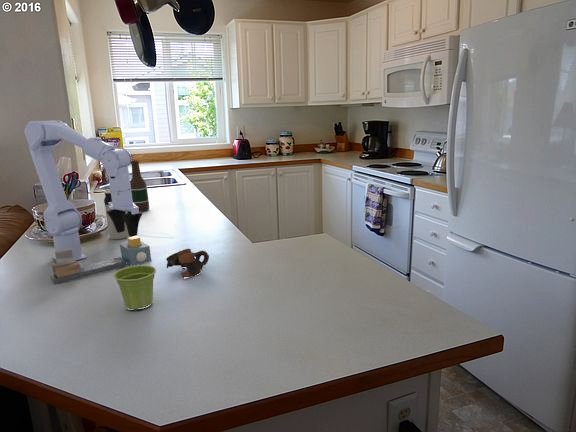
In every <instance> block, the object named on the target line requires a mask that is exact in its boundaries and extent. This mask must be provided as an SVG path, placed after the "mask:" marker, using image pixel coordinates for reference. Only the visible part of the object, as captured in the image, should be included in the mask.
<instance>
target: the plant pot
mask: <svg viewBox="0 0 576 432" xmlns="http://www.w3.org/2000/svg"><path fill="white" fill-rule="evenodd" d="M156 273H157V269H156V267H154V266H151V265H145V264H144V265H143V264H139V265H135V266H128V267H124V268H121V269H119V270H117V271H116V272H115V273H114V274H113V278H114V280H116V282H117V285H118V286H119V289H120V292H121V293H120V294H121V295H122V299H123V303H124V306H125V308H126V307H127V308H129V309H138V308H143V307H146V306H148V305H150V304H151V303H152V302H153V300H154V279H155V274H156ZM152 304H153V303H152Z"/></svg>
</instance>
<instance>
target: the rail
mask: <svg viewBox="0 0 576 432" xmlns="http://www.w3.org/2000/svg"><path fill="white" fill-rule="evenodd" d="M127 264H128V263H127V262H126V260H124V259H123V258H122V256H119V257H115V258H112V259H111V258H110V259H107V260H104V261H103V260H102V261H98V262H94V263H91V264H87V265H84V266H83V265H82V266H80V268H81V272H79V273H75V274H71V275H67V276H63V277H60V278H58V277H57V276H56V275H55V274H54V273H50V274H49V277H50V281H51V282H52V283H53V284H54V285H57V284H58V285H59V284H61V283H65V282H70V281H73V280H77V279H81V278H85V277H89V276H92V275H97V274H100V273H104V272H107V271H111V270H115V269H118V268H122V267H125V266H126V265H127Z"/></svg>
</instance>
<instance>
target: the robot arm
mask: <svg viewBox="0 0 576 432" xmlns="http://www.w3.org/2000/svg"><path fill="white" fill-rule="evenodd" d="M23 132H24V135H25V138H26V141H27V143H28V144H27V145H28V148H29V149H28V150H29V152H30V155H31V156H30V157H31V159H32V161H33V164H34V167H35V169H36V172H37V173H36V174H37V176H38V179H39V181H40V184H41V187H42V190H43V194H44V196H45V199H46V202H47V205H48V206H47V207H46V209H45V210H44V212H43V218H44V226H45V229H46V231H47V232H48V233H49V234H50V236H52V237H53V239H52V241H53V245H54V253H55V252H56V251H60V250H65V249H69V248H70V249H71V250H72V255H73V259H75V260H76V261H79V260H84V259H86V258H87V256H86V255H85V254H83V252H82V246H81V240H80V234H79V230H80V226H81V225H82V222H83V217H82V215H81V213H80V212H79V211H78V209H77V207H76V204H74V203H72V202H70V201H68V199H67V196H66V193H65V189H64V186H63V183H62V181H61V178H60V175H59V172H58V169H57V166H56V163H55V160H54V157H53V155H52V153H53V150H54V149H55V148H56V147H57V146H58V144H60V143H61V142H62V141H65V142H68V143H70V144H71V145H73V146H76V147H78V148H80V149H82V150H83V154H85V155H86V156H88V157H90V158H92V159H94V160H96V161H97V162H100V163H101V165H102V167H103V168H104V169H105V173H106V175H107V176H108V183H109V189H110V191H111V198H112V202H109V209H111V210H110V211H107V214H108V215H109V216H110V218H111V220H112V221H113V224H114V226H115V228H116V231H117V233H120V232H124V231H125V223H126V226H127V230H128V234H129V236H130V237H133V236H138V231H139V224H140V220H141V219H142V216H143V212H139V208H138V207H137V206H136V205H135V204H134V203H133V200H132V193H131V185H130V181H131V179H130V173H129V172H130V171H129V166H130V165H131V161H132V156H131V153H130V152H129V151H128V150H127V149H125V148H123V147H118V148H116V147H115V145H113V144H109V143H107V142H106V141H105V142H104V141H103V140H102V138H101V137H100V136H95V137H93V136H92V137H90V138H89V137H87V136H85V135H84V134H82V133H81V132H78V131H77V130H75V129H73V128H71V127H70V126H68V123H66V122H64V121H63V122H62V121H61V120H60V119H52V120H30V121H29V122H28V123H27V124H26V126H25V129H24V130H23ZM126 212H128V214H125V213H126ZM52 258H53V259H54V260H55V261H56V256H55V255H52Z"/></svg>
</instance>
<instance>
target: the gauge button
mask: <svg viewBox="0 0 576 432" xmlns="http://www.w3.org/2000/svg"><path fill="white" fill-rule="evenodd" d="M126 240H127V242H126V243H128V247H130V248H132V247H137V246H141V242H142V240H141V237H140V236H138V235H137V236H133V237H128V238H126Z"/></svg>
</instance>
